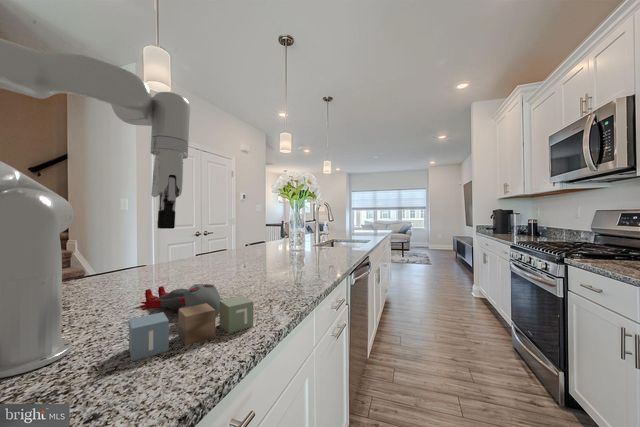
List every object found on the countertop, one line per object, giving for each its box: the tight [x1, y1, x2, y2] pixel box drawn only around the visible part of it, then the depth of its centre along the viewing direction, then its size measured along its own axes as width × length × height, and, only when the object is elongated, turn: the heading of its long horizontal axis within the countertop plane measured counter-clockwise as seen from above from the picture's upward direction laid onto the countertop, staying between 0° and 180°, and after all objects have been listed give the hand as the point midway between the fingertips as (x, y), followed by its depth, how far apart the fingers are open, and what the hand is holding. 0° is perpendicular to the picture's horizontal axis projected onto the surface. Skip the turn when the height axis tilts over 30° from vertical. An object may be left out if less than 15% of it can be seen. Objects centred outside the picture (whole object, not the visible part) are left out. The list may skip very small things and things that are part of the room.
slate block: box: [128, 311, 170, 361], centre depth 53 cm, size 6×6×6 cm
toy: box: [140, 283, 222, 319], centre depth 74 cm, size 16×10×30 cm
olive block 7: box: [218, 295, 254, 334], centre depth 64 cm, size 6×6×6 cm
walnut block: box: [178, 303, 216, 346], centre depth 59 cm, size 6×6×6 cm
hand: (166, 228), depth 61 cm, fingers closed
